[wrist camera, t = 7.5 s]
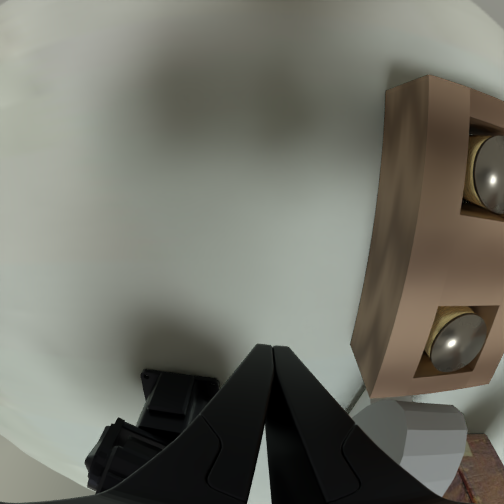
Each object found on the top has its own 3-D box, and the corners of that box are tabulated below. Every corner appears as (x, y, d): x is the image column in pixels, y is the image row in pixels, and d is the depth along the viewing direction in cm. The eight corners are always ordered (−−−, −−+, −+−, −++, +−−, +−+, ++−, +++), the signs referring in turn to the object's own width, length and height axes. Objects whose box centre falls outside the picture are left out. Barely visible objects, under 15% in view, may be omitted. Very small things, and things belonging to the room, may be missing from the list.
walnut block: (455, 341, 23) (488, 383, 17) (350, 344, 23) (369, 398, 17) (500, 124, 17) (554, 126, 11) (385, 90, 17) (428, 74, 11)
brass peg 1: (437, 324, 22) (472, 369, 16) (392, 324, 22) (422, 375, 16) (451, 276, 21) (495, 314, 15) (405, 273, 21) (444, 315, 15)
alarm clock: (326, 496, 31) (335, 579, 19) (280, 493, 31) (281, 581, 19) (434, 364, 24) (498, 473, 12) (378, 354, 23) (434, 486, 11)
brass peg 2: (467, 197, 19) (520, 217, 13) (420, 189, 19) (470, 208, 13) (473, 140, 17) (529, 145, 12) (426, 128, 17) (479, 127, 12)
